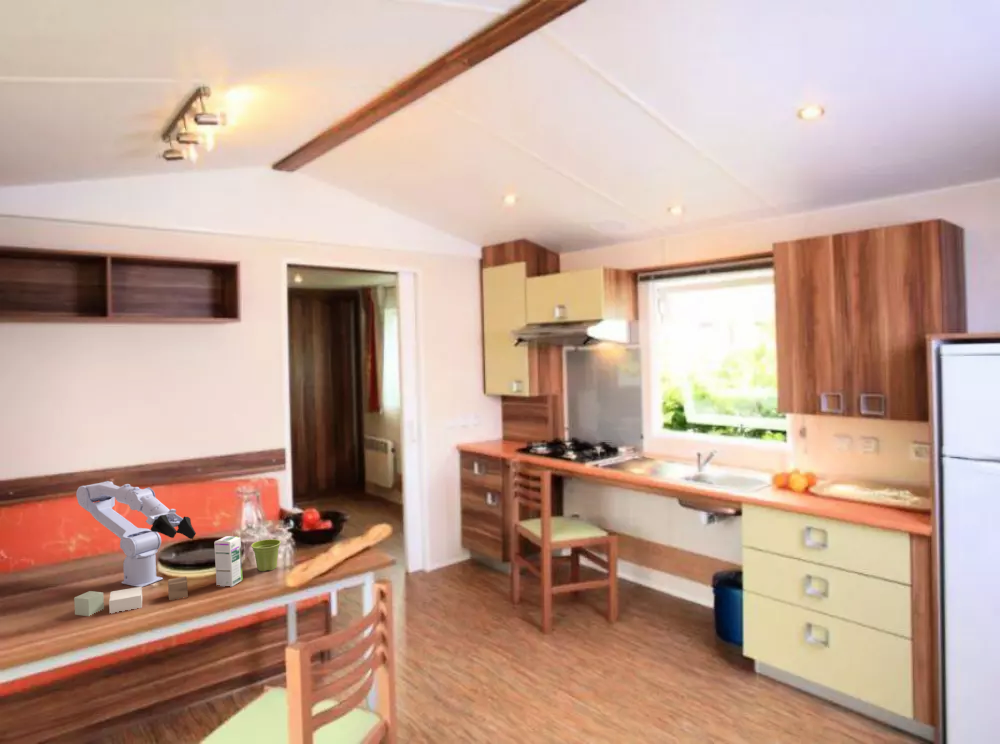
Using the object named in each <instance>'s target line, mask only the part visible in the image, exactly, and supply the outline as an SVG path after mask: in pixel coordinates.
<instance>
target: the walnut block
mask: <svg viewBox="0 0 1000 744" xmlns="http://www.w3.org/2000/svg"><path fill="white" fill-rule="evenodd" d="M167 583H168V584H167V587H168V601H169V600H172V601H175V600H174V599H177V600H180V599H179V598H183V597H188V596H189V594H188V593H189V592H188V579H187V576H181V577H176V578H175V577H174V578H169V579H167ZM188 598H189V597H188ZM183 599H184V598H183Z"/></svg>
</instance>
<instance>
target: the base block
mask: <svg viewBox="0 0 1000 744" xmlns="http://www.w3.org/2000/svg"><path fill="white" fill-rule="evenodd" d="M108 604H109V605H108V607H109V614H110V613H111V614H115V612H117V613H120V612H119V611H122V612H126V611H125V610H128V611H132V610H131V609H134V610H137V608H139V609H142V608H143V587H136V586H135V587H131V588H125V589H119V590H113V591H110V595H109V599H108Z"/></svg>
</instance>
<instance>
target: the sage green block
mask: <svg viewBox="0 0 1000 744" xmlns="http://www.w3.org/2000/svg"><path fill="white" fill-rule="evenodd" d="M73 601H74V615H75V616H84V617H91V616H93V615H95V614H97V613H99V612H101V611H103V610H104V609H105V602H104V601H105V598H104V592H101V591H95V590H93V591H92V590H89V591H87V592H84V593H82V594H80V595H77V596H75V597H74V598H73ZM102 609H103V610H102ZM100 610H101V611H100ZM98 611H99V612H98ZM96 612H97V613H96ZM94 613H95V614H94ZM92 614H93V615H92ZM90 615H91V616H90Z"/></svg>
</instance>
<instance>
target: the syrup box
mask: <svg viewBox="0 0 1000 744" xmlns="http://www.w3.org/2000/svg"><path fill="white" fill-rule="evenodd" d="M242 560H243V558H242V540H241V536H237V535H228V536H227V535H226V536H224V537H222V538H220V539H218V540H215V541H214V563H215V564H214V565H215V579H216V580H215V581H216V582H215V583H216V586H217V585H220V586H219V587H225V586H230V588H233V587H234V586H235V585H237V584H238V583H240V582H243V580H244V579H243V576H244V575H243V561H242Z"/></svg>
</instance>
